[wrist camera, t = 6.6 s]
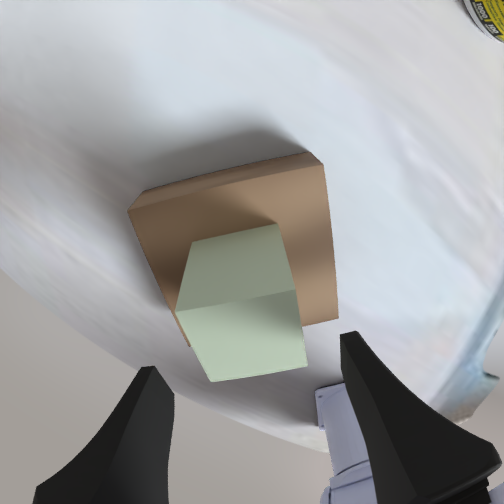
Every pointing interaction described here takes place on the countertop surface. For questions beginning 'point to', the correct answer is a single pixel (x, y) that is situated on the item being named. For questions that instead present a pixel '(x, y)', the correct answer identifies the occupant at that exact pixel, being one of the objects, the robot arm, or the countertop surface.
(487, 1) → the pill bottle
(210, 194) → the walnut base
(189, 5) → the countertop surface
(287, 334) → the sage cube
